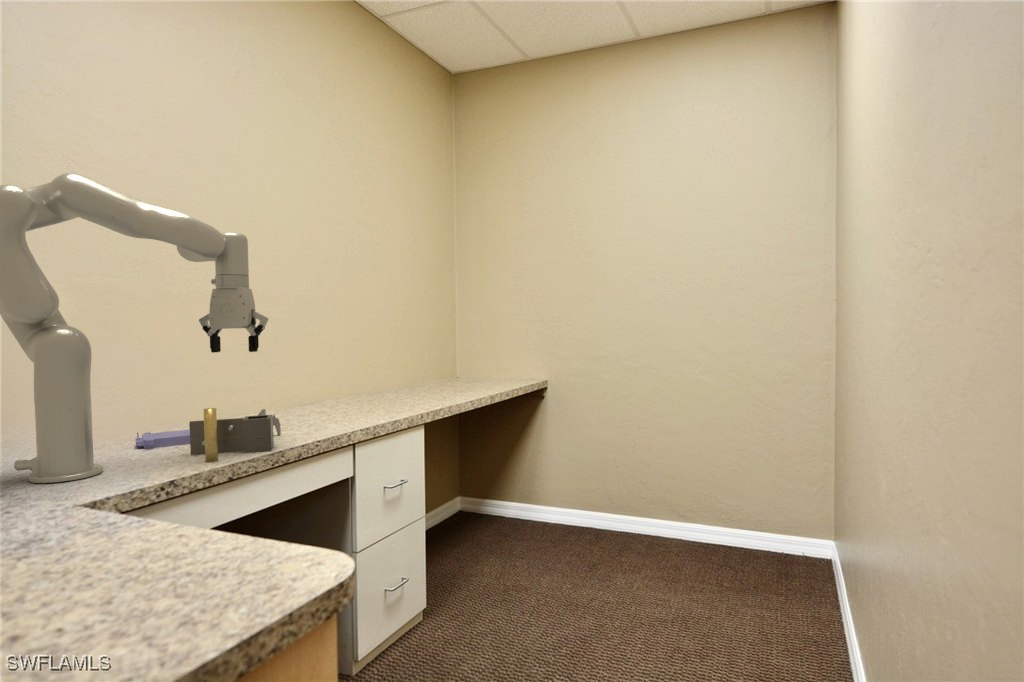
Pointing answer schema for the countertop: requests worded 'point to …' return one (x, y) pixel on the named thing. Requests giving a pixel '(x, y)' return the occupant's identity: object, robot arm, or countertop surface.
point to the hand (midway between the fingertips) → (234, 351)
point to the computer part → (163, 439)
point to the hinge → (236, 434)
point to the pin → (210, 435)
